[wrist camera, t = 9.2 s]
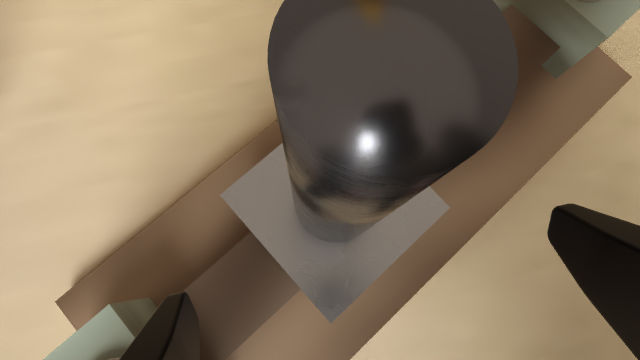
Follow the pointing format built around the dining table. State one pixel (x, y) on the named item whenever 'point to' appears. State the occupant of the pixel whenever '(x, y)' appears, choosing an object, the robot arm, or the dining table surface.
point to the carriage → (370, 131)
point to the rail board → (399, 278)
